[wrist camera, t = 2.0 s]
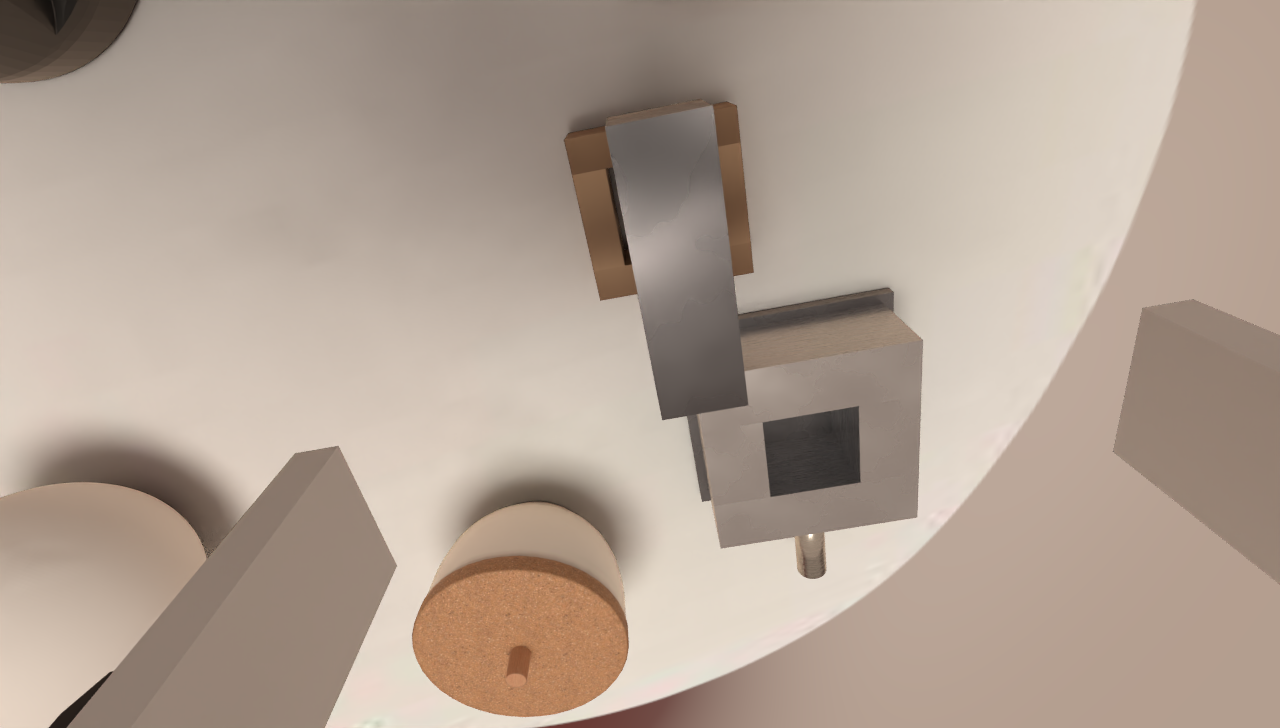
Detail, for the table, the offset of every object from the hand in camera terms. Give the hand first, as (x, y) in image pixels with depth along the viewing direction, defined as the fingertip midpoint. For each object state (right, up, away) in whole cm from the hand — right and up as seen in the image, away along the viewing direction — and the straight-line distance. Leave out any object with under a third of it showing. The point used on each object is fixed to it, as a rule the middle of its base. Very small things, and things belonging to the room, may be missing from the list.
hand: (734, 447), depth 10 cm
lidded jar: (-8, -9, +27) cm, 30 cm away
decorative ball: (-31, -8, +26) cm, 41 cm away
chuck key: (-1, +9, +18) cm, 20 cm away
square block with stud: (+7, -2, +24) cm, 25 cm away
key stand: (-1, +9, +18) cm, 20 cm away
